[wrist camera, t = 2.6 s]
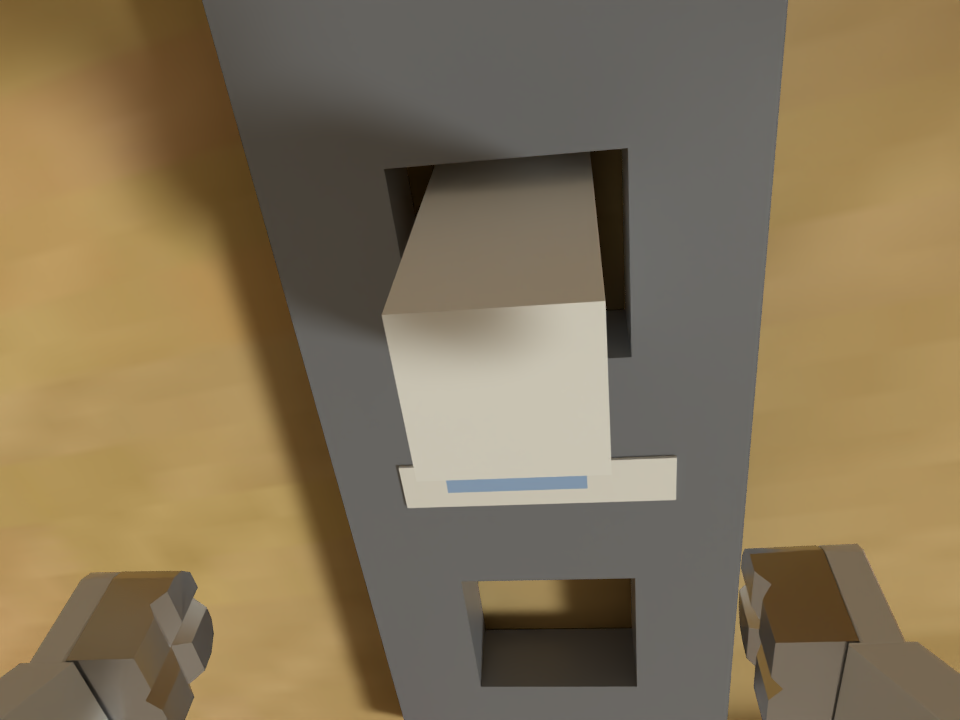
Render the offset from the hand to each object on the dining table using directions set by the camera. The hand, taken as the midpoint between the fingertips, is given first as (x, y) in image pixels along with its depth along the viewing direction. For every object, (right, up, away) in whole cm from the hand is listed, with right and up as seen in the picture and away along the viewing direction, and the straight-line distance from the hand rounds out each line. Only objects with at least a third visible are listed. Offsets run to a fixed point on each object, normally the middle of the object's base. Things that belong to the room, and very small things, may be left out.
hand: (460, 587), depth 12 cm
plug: (+1, +7, +10) cm, 12 cm away
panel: (+2, +1, +14) cm, 14 cm away
